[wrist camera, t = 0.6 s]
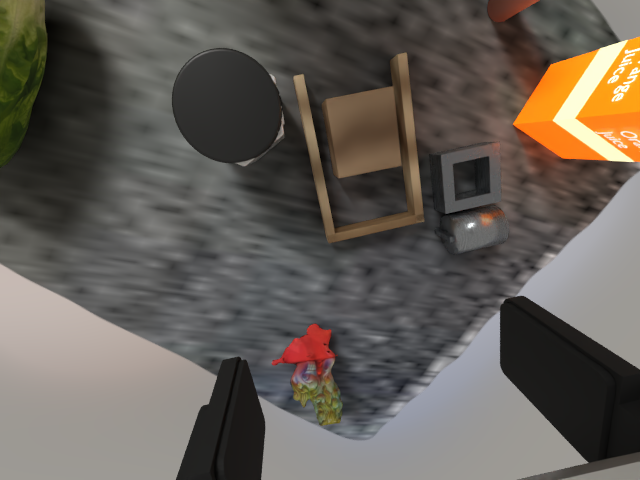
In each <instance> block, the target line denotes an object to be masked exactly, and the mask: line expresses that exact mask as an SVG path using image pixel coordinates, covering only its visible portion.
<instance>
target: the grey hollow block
mask: <svg viewBox="0 0 640 480" xmlns="http://www.w3.org/2000/svg"><path fill="white" fill-rule="evenodd" d="M429 157H430V167H431V178H432V189H433V200H434V209H435V210H438V211H440V212H442V213H445V214H448V213H452V212H456V211H461V210H465V209H469V208H474V207H478V206H483V205H487V204H491V203H496V202H500V201H501V171H500V142H483V143H478V144H474V145H469V146H465V147H460V148H456V149H451V150H447V151H442V152H437V153H433V154H429ZM473 159H475V180H476V190H473V191H468V192H464V193H459V194H455V190H454V176H453V164H455V163H459V162H464V161H468V160H473ZM435 234H437V235H439V236H441V238H442V241H443V243H444V246H445V247H446V249H447V250H448V251H449V252H450V253H451V254H453V255H455V254H460V253H464V252H468V251H473V250H477V249H481V248H485V247H490V246H494V245H498V244H502V243H504V242H505V241H506V240H507V238H508V235H509V224H508V221H507V218H506V216H505V214H504V213H503V211H502V210H501V209H500V208H499V207H497V206H495V205H490V206H485V207H481V208H477V209H472V210H468V211H463V212H459V213H455V214H450V215H446V216H443V217H442V219H441V221H440V228H437V229H435Z"/></svg>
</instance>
